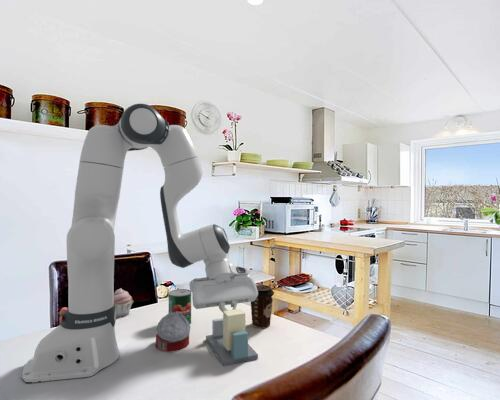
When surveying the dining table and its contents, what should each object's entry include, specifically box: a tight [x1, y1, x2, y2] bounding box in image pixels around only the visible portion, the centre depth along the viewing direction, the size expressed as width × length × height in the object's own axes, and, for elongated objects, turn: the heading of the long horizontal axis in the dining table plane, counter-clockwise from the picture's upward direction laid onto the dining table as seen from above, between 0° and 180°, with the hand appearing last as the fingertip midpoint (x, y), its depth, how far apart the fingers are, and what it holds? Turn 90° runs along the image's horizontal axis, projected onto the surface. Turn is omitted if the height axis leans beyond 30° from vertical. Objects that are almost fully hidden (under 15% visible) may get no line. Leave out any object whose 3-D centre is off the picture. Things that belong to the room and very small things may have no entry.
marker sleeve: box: [222, 308, 246, 351], centre depth 91 cm, size 5×4×10 cm
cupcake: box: [114, 287, 134, 318], centre depth 121 cm, size 9×9×10 cm
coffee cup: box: [250, 284, 275, 329], centre depth 112 cm, size 9×8×13 cm
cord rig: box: [205, 317, 259, 367], centre depth 94 cm, size 10×17×8 cm, turn 23°
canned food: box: [155, 312, 191, 353], centre depth 97 cm, size 11×10×10 cm
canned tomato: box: [168, 288, 192, 326], centre depth 113 cm, size 8×8×11 cm
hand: (231, 317), depth 94 cm, fingers closed, pressing on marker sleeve
